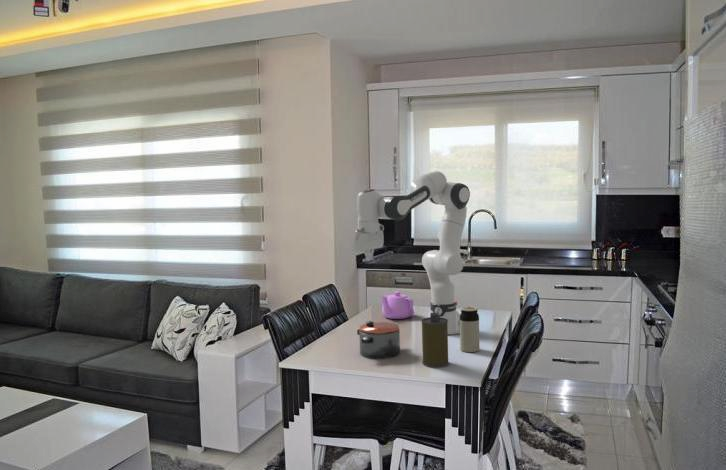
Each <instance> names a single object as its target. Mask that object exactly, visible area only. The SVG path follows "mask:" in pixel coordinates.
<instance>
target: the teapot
mask: <svg viewBox="0 0 726 470" xmlns="http://www.w3.org/2000/svg"><path fill="white" fill-rule="evenodd" d="M381 298H382V299H381V301H382V306H381V313H382V314H383V316H384V317H385V318H387V319H394V320H403V319H408V318H411V316H413V315H415V313H416V312H415V310H414V299H412V298H411V297H408V296H407V295H406V294H402V293H401V291H394V292H393V294H384V296H381Z"/></svg>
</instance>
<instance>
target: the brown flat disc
mask: <svg viewBox="0 0 726 470" xmlns="http://www.w3.org/2000/svg"><path fill="white" fill-rule="evenodd" d="M359 329H360V331H361V332H362V333H366V334H374V335H381V334H390V333H394V332H397V331H398V330H399V331H400V325H398V324H397V323H393V322H389V321H387V322H386V321H385V322H383V321H378V322H377V321H376V322H375V321H372V320H369V321H366V323H364V324H361V325H359Z"/></svg>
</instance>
